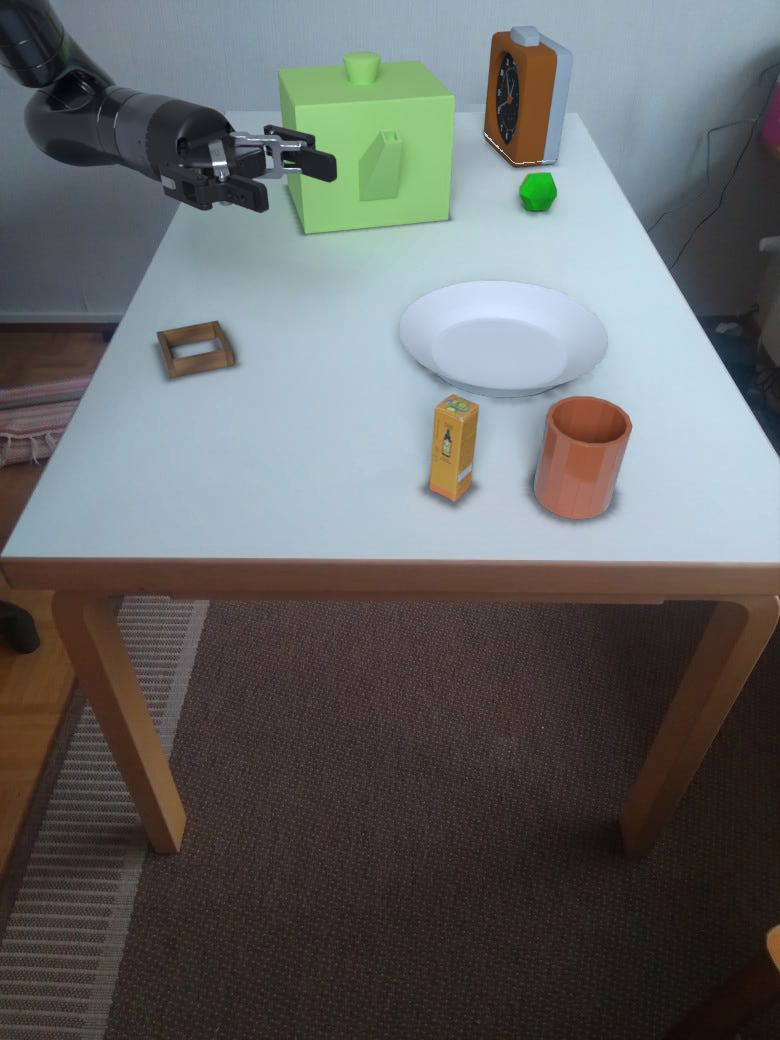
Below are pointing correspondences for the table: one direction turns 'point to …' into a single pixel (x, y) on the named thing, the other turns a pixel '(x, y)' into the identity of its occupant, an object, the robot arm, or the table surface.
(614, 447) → the cup
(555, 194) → the green faceted polyhedron
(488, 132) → the alarm clock
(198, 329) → the wooden frame
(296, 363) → the table surface
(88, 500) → the table surface
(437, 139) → the teapot
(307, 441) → the table surface
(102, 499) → the table surface
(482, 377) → the white plate
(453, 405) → the supplement box
